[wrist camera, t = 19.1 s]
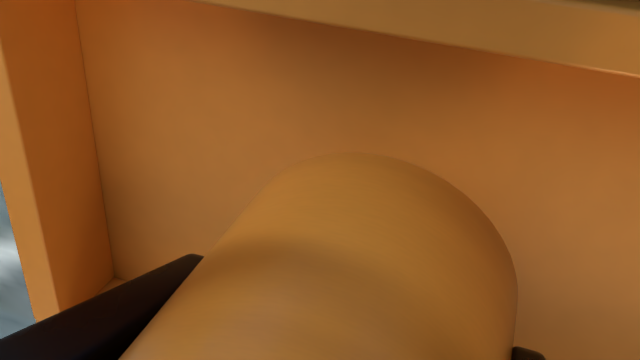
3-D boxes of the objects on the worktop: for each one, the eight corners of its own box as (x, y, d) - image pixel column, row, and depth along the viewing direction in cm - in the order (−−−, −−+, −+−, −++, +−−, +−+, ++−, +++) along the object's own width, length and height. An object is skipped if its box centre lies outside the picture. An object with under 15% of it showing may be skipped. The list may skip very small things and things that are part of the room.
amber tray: (743, 475, 13) (777, 605, 11) (106, 277, 17) (40, 343, 15) (1065, 24, 8) (1253, 99, 6) (47, -108, 12) (-69, -93, 10)
